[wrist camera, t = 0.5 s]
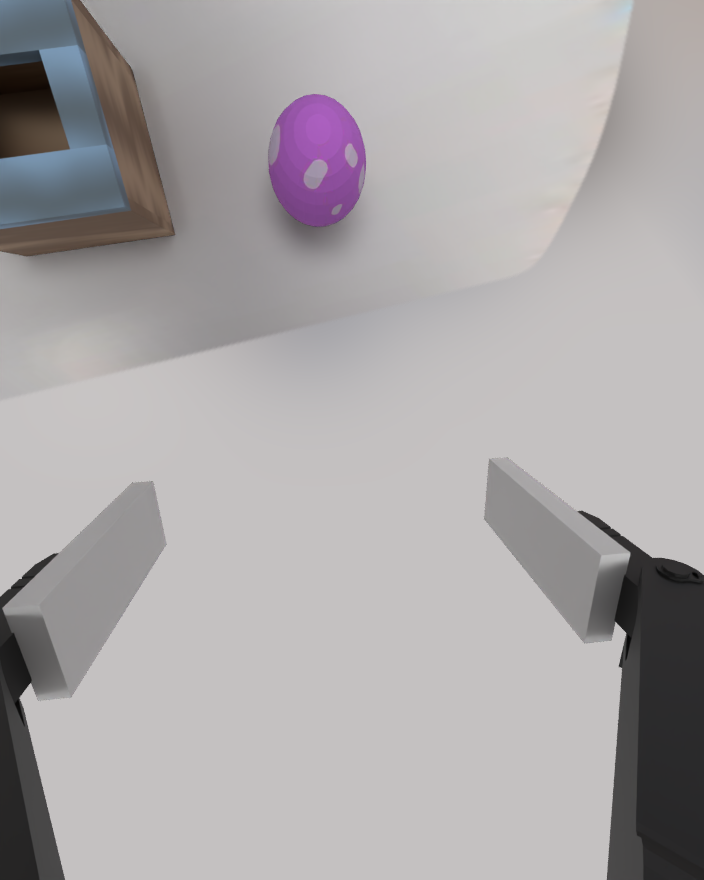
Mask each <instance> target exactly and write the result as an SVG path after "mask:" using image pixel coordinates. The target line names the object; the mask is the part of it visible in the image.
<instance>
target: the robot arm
mask: <svg viewBox="0 0 704 880" xmlns="http://www.w3.org/2000/svg"><path fill="white" fill-rule="evenodd" d="M484 519H485V521H486V522H487V523H488V524H489V526H490V527H491V528H492V529H493V531H494V532H495V533H496V534H497V536H498V537H499V538H500V539H501V540H502V541H503V543H504V544H505V546H506V547H507V548H508V549H509V551H510V552H511V553H512V554H513V555H514V557H515V558H516V559H517V560H518V561H519V563H520V564H521V565H522V567H523V568H524V569H525V570H526V571H527V573H528V574H529V575H530V577H531V578H532V579H533V580H534V582H535V583H536V584H537V585H538V586H539V588H540V589H541V590H542V591H543V593H544V594H545V595H546V596H547V598H548V599H549V600H550V601H551V603H552V604H553V605H554V606H555V608H556V609H557V610H558V611H559V613H560V614H561V615H562V616H563V617H564V619H565V620H566V621H567V622H568V624H569V625H570V626H571V627H572V629H573V630H574V631H575V632H576V634H577V635H578V636H579V637H580V639H581V640H582V641H583V642H584V643H593V642H602V641H611V640H612V635H613V631H614V626H615V622H616V623H617V624H618V625H619V626H620V627H621V628H622V629H623V630H624V631H625V632H626V638H625V642H624V646H623V651H622V655H621V659H620V664H619V667H621V668H622V678H621V692H620V707H619V720H618V733H617V747H616V762H615V776H614V789H613V803H612V817H611V830H610V845H609V858H608V859H609V860H608V872H607V880H704V575H702V573H700V572H699V571H698V570H696V569H694V568H692V567H690V566H688V565H686V564H684V563H681V562H677V561H675V560H670V559H665V558H652V557H650V556H649V555H648V554H646V553H645V552H643V551H642V550H641V549H640V548H638V547H637V546H636V545H634V544H633V543H631V542H630V541H629V540H627V539H626V538H625V537H623V536H621V535H620V534H619V533H618V532H616V531H615V530H614V529H611V527H610V526H608V525H607V524H606V523H604V522H603V521H602V520H600V519H599V518H597V517H595V516H593V515H590V514H588V513H586V512H583V511H576V510H574V509H573V508H572V507H571V506H569V505H568V504H567V503H565V502H564V501H563V500H562V499H560V498H559V497H558V496H556V495H555V494H554V493H553V492H551V491H550V490H549V489H547V488H546V487H545V486H544V485H542V484H541V483H540V482H538V481H537V480H536V479H535V478H533V477H532V476H531V475H529V474H528V473H527V472H525V471H524V470H523V469H522V468H520V467H519V466H517V465H516V464H515V463H514V462H513V461H511V460H510V459H509V458H492V459H489V466H488V478H487V491H486V504H485V516H484ZM165 546H166V540H165V535H164V531H163V526H162V521H161V516H160V512H159V507H158V502H157V498H156V493H155V488H154V483H153V481H151V482H136V483H131V484H130V485H129V486H128V487H127V488H126V489H125V490H124V491H123V492H122V493H121V494H120V495H119V496H118V497H117V498H116V499H115V500H114V501H113V502H112V503H111V504H110V505H109V506H108V507H107V508H106V509H105V510H103V511H102V512H101V513H100V514H99V515H98V516H97V517H96V518H95V519H94V520H93V521H92V522H91V523H90V524H89V525H88V526H87V527H86V528H85V529H84V530H83V531H82V532H81V533H80V534H79V535H77V537H75V538H74V539H73V540H72V541H71V542H70V543H69V544H68V545H67V546H66V547H65V548H64V549H63V550H62V551H61V552H60V553H57V554H52V555H51V556H49V557H47V558H46V559H44V560H42V561H41V562H39V563H37V564H35V565H34V566H33V567H32V568H31V569H30V570H29V571H28V572H27V573H26V574H25V575H23V577H22V579H19V580H18V581H17V582H16V583H15V584H14V585H13V586H12V587H11V589H9V590H7V591H6V592H5V593H4V594H3V595H2V596H1V597H0V880H65V878H64V874H63V870H62V865H61V861H60V857H59V853H58V849H57V845H56V841H55V837H54V832H53V828H52V824H51V820H50V816H49V812H48V808H47V804H46V799H45V795H44V791H43V787H42V783H41V779H40V775H39V770H38V766H37V762H36V758H35V754H34V750H33V746H32V742H31V738H30V733H29V729H28V725H27V721H26V717H25V713H24V709H23V706H22V704H21V701H20V699H19V697H20V696H21V695H22V693H23V692H24V690H25V689H26V688H27V687H28V685H29V684H30V683H31V684H32V686H33V689H34V692H35V694H36V697H37V700H38V701H41V700H50V699H60V698H70V697H72V695H73V694H74V692H75V690H76V689H77V687H78V685H79V684H80V682H81V681H82V679H83V678H84V676H85V674H86V673H87V671H88V669H89V668H90V666H91V665H92V663H93V661H94V660H95V658H96V657H97V655H98V653H99V652H100V650H101V649H102V647H103V645H104V643H105V642H106V641H107V639H108V637H109V636H110V634H111V633H112V631H113V629H114V628H115V626H116V624H117V623H118V621H119V620H120V618H121V616H122V615H123V613H124V612H125V610H126V608H127V607H128V605H129V603H130V602H131V600H132V599H133V597H134V595H135V594H136V592H137V591H138V589H139V588H140V586H141V584H142V583H143V581H144V579H145V578H146V576H147V575H148V573H149V571H150V570H151V568H152V566H153V565H154V563H155V562H156V560H157V559H158V557H159V555H160V554H161V552H162V551H163V549H164V547H165Z"/></svg>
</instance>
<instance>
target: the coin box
mask: <svg viewBox="0 0 704 880" xmlns="http://www.w3.org/2000/svg"><path fill="white" fill-rule="evenodd" d="M170 235H175V233H174V229H173V225H172V221H171V217H170V213H169V210H168V206H167V202H166V198H165V194H164V190H163V186H162V183H161V179H160V175H159V171H158V167H157V163H156V160H155V156H154V152H153V148H152V144H151V140H150V136H149V133H148V129H147V125H146V121H145V117H144V113H143V109H142V106H141V102H140V98H139V94H138V90H137V86H136V83H135V79H134V75H133V71H132V69H131V67H130V66H129V65H128V63H127V62H126V61H125V59H124V58H123V57H122V55H121V54H120V53H119V52H118V50H117V49H116V48H115V46H114V45H113V44H112V42H111V41H110V40H109V38H108V37H107V36H106V34H105V33H104V32H103V30H102V29H101V28H100V26H99V25H98V24H97V22H96V21H95V20H94V18H93V17H92V16H91V14H90V13H89V12H88V10H87V9H86V8H85V6H84V5H83V4H82V2H81V1H80V0H0V251H2V252H7V253H13V254H18V255H23V256H33V255H40V254H47V253H53V252H60V251H67V250H74V249H81V248H88V247H95V246H102V245H108V244H115V243H122V242H129V241H136V240H143V239H150V238H157V237H163V236H170Z"/></svg>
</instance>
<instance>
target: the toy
mask: <svg viewBox="0 0 704 880" xmlns="http://www.w3.org/2000/svg"><path fill="white" fill-rule="evenodd" d="M268 160H269V174H270V178H271V182H272V186H273V189H274V192H275V194H276V196H277V198H278V200H279V202H280V203H281V204H282V206H283V207H284V208H285V210H286V211H287V212H288V213H289V214H290V215H291V216H293V217H294V218H295V219H296V220H298V221H300V222H302V223H304V224H306V225H311V226H315V227H317V226H328V225H331V224H334V223H336V222H338V221H339V220H341V219H343V218H344V217H345V216H346V215H347V214H348V213H349V212H350V211H351V210H352V209H353V207H354V205H355V204H356V202H357V201H358V199H359V196H360V193H361V190H362V187H363V184H364V179H365V171H366V156H365V148H364V144H363V140H362V137H361V133H360V130H359V128H358V126H357V124H356V122H355V120H354V118H353V117H352V116H351V115H350V114H349V112H348V111H347V110H346V109H345V108H344V106H342V105H341V104H340V103H339V102H337V101H336V100H335V99H332V98H330V97H328V96H325V95H318V94H312V95H306V96H303V97H301V98H299V99H297V100H295V101H294V102H293V103H292V104H290V105H289V106H288V107H287V108H286V109H285V110H284V111H283V112H282V114H281V115H280V117H279V118H278V120H277V122H276V124H275V127H274V129H273V132H272V135H271V138H270V144H269V150H268Z"/></svg>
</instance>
